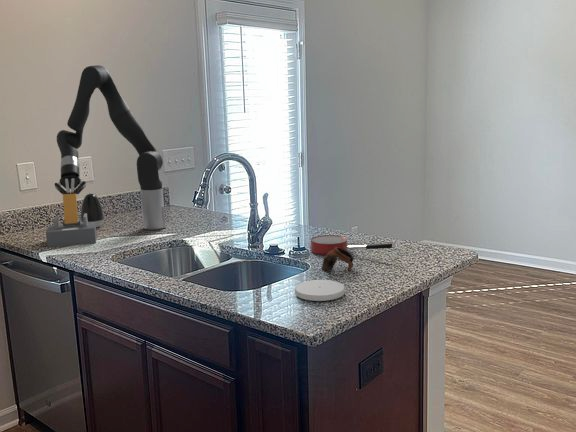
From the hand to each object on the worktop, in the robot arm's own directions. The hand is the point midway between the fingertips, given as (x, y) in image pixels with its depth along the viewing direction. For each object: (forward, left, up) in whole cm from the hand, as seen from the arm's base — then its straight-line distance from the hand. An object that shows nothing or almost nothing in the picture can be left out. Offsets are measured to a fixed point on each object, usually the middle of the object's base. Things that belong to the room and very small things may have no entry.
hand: (70, 201), depth 250 cm
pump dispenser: (-7, -17, -15) cm, 24 cm away
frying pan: (-97, +67, -15) cm, 119 cm away
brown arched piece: (-85, +84, -15) cm, 120 cm away
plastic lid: (-73, +105, -15) cm, 129 cm away
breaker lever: (0, +7, -9) cm, 11 cm away
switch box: (0, +8, -15) cm, 17 cm away
